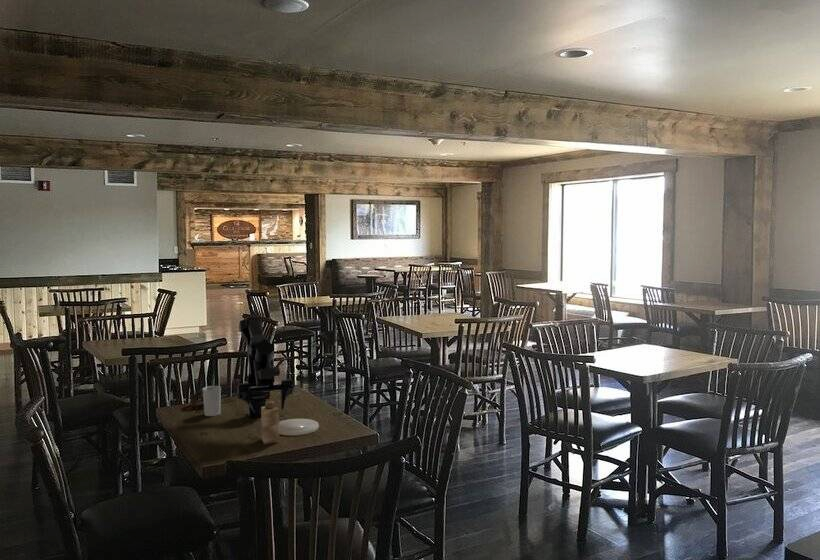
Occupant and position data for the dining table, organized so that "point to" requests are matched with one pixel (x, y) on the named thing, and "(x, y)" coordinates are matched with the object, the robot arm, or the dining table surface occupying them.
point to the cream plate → (297, 427)
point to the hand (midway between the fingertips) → (268, 410)
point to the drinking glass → (212, 400)
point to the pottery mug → (196, 396)
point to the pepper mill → (270, 423)
